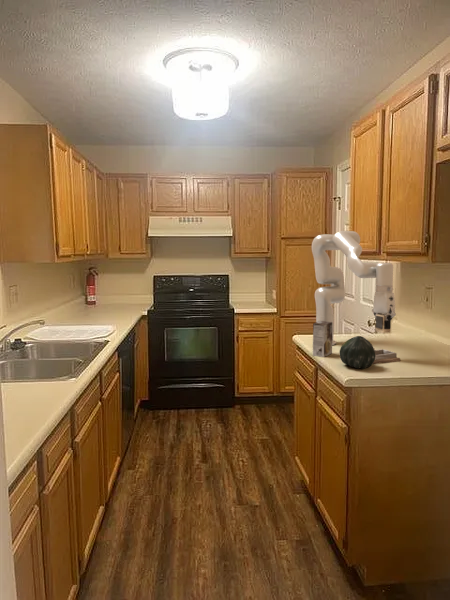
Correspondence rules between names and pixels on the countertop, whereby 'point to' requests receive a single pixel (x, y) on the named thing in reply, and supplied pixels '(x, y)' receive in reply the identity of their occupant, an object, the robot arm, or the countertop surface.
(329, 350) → the coffee box
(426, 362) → the countertop surface
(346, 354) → the squash
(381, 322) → the wooden block
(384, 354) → the rail board
